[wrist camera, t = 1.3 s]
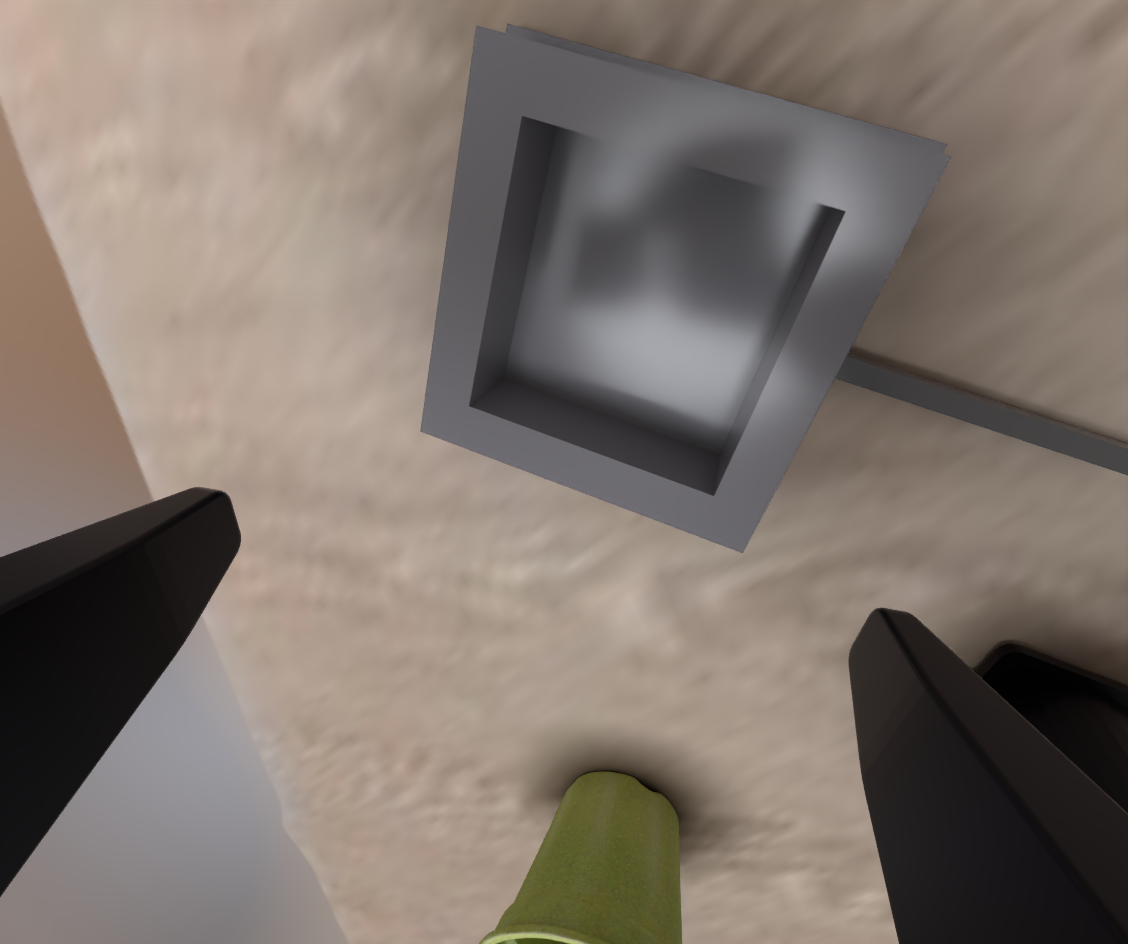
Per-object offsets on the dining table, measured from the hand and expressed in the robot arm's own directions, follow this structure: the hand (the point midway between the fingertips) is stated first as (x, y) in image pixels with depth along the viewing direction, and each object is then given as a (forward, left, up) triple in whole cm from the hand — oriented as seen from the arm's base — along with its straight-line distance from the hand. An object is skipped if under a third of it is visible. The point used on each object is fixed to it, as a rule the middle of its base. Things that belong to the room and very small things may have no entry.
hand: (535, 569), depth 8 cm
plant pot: (-6, +24, -13) cm, 28 cm away
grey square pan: (-4, -1, -13) cm, 14 cm away
